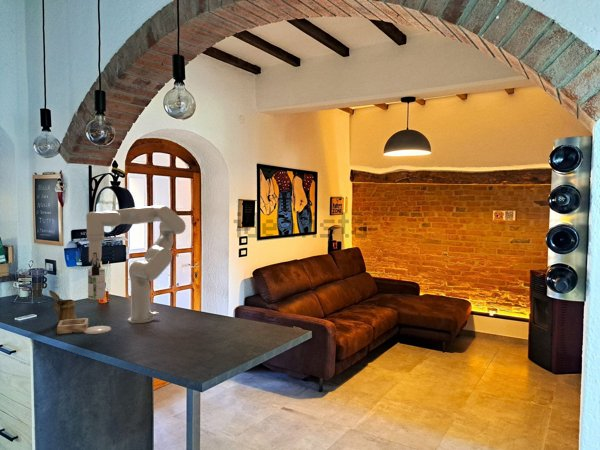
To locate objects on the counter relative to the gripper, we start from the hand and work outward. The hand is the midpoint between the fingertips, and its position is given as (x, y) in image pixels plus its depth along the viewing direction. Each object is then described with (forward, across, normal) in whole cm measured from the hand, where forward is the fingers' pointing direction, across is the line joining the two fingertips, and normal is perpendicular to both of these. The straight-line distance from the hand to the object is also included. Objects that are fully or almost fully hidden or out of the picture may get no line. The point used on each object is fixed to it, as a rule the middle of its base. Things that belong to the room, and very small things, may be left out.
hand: (96, 273), depth 210 cm
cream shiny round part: (+28, +1, 0) cm, 28 cm away
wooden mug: (+28, -19, -18) cm, 38 cm away
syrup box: (+12, 0, 0) cm, 12 cm away
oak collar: (+27, -5, -11) cm, 30 cm away
